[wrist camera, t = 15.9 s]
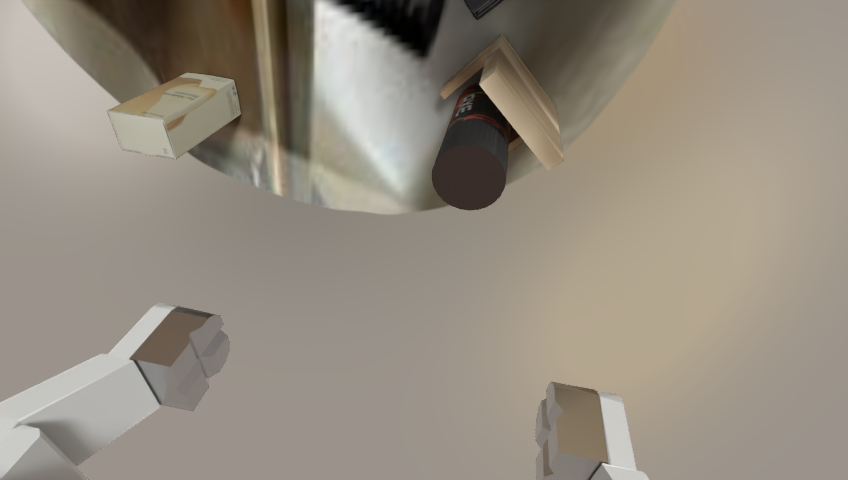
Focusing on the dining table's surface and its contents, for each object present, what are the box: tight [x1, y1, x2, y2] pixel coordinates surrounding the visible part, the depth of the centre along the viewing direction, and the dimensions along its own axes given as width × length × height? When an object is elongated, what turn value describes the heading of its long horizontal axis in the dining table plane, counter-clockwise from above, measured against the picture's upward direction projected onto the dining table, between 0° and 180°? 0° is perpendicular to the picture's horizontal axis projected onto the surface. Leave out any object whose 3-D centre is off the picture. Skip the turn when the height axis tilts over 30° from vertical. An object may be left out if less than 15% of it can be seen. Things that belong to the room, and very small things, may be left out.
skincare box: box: [107, 73, 241, 160], centre depth 46 cm, size 6×4×12 cm
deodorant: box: [432, 83, 511, 210], centre depth 40 cm, size 6×6×15 cm
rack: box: [440, 34, 564, 170], centre depth 40 cm, size 8×9×12 cm
